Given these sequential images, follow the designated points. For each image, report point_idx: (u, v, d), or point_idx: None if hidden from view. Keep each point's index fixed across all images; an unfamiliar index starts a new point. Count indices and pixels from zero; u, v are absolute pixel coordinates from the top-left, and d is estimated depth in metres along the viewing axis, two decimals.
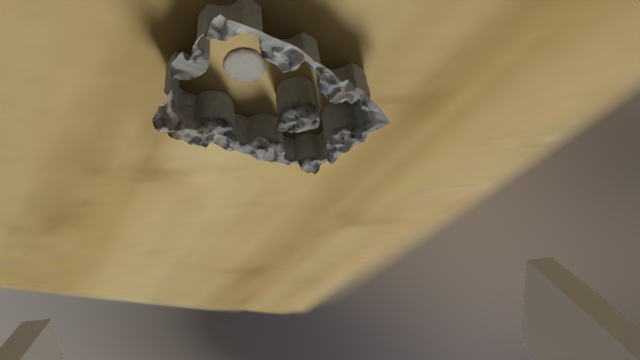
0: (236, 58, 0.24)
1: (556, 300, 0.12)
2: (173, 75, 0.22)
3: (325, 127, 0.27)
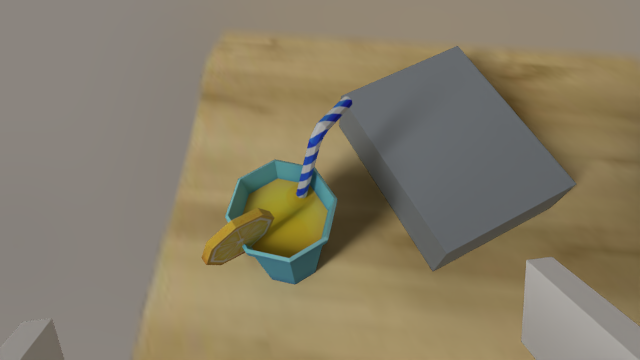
0: None
1: (556, 300, 0.12)
2: None
3: None
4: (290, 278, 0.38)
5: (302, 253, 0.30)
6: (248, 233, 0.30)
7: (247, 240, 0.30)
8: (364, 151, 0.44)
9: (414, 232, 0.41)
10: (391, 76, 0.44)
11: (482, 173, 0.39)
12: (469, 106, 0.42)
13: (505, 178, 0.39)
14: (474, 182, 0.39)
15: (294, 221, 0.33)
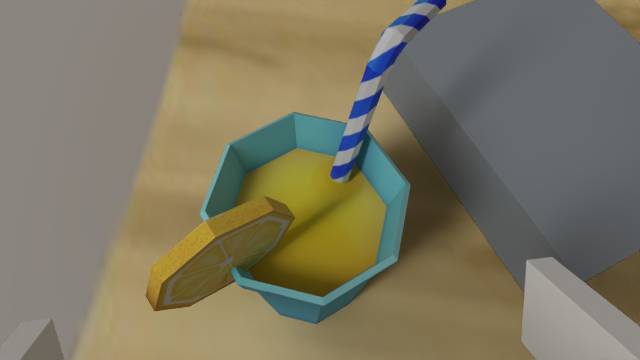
0: None
1: (556, 300, 0.12)
2: None
3: None
4: (311, 318, 0.23)
5: (348, 288, 0.15)
6: (243, 247, 0.15)
7: (240, 260, 0.15)
8: (422, 119, 0.29)
9: (506, 244, 0.26)
10: (465, 7, 0.29)
11: (622, 152, 0.24)
12: (588, 51, 0.28)
13: None
14: (610, 165, 0.24)
15: (327, 224, 0.18)
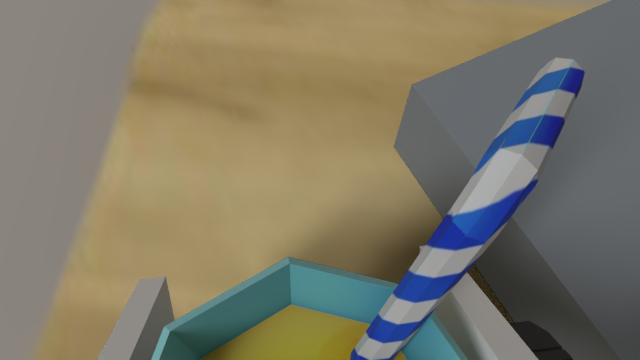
0: None
1: None
2: None
3: None
4: None
5: None
6: None
7: None
8: None
9: None
10: (513, 46, 0.21)
11: None
12: None
13: None
14: None
15: None
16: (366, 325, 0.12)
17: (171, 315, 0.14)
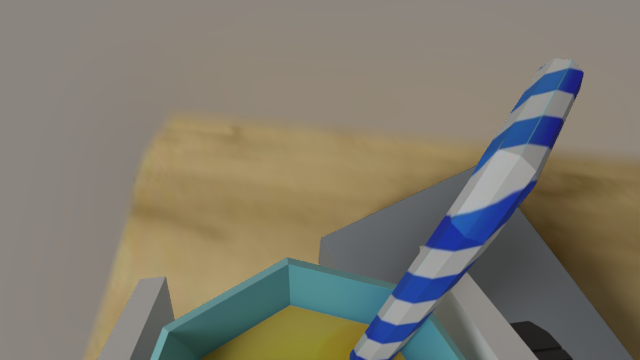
0: None
1: None
2: None
3: None
4: None
5: None
6: None
7: None
8: None
9: None
10: (392, 207, 0.31)
11: None
12: (503, 259, 0.30)
13: None
14: None
15: None
16: (365, 326, 0.12)
17: (171, 315, 0.14)
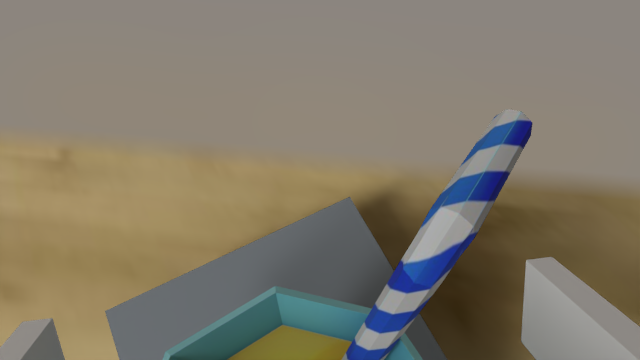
0: None
1: (555, 300, 0.12)
2: None
3: None
4: None
5: None
6: None
7: None
8: None
9: None
10: (213, 264, 0.23)
11: None
12: None
13: None
14: None
15: None
16: (351, 343, 0.13)
17: None
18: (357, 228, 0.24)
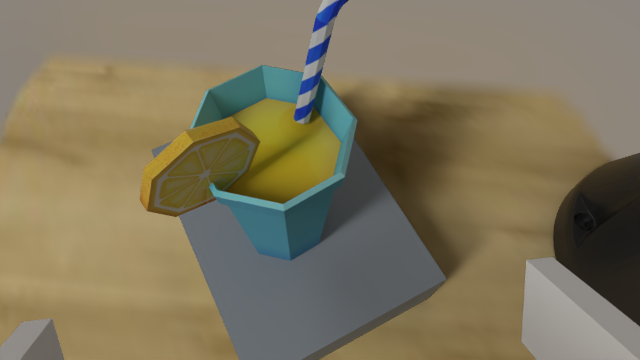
0: None
1: (556, 300, 0.12)
2: None
3: None
4: (284, 249, 0.26)
5: (304, 197, 0.19)
6: (217, 162, 0.18)
7: (216, 176, 0.19)
8: None
9: None
10: None
11: (321, 262, 0.29)
12: None
13: (351, 270, 0.29)
14: (307, 275, 0.28)
15: (291, 157, 0.22)
16: None
17: None
18: None
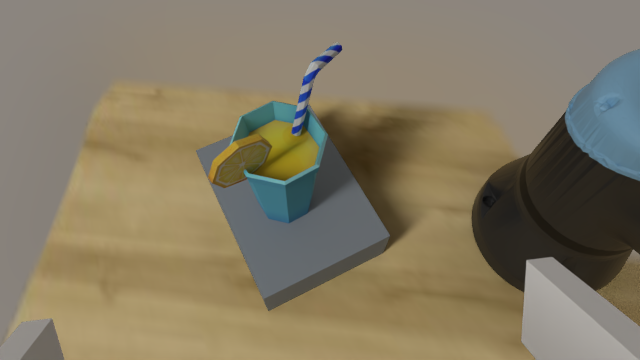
0: None
1: (556, 300, 0.12)
2: None
3: None
4: (285, 214, 0.42)
5: (296, 177, 0.35)
6: (249, 157, 0.34)
7: (248, 165, 0.35)
8: None
9: None
10: None
11: (309, 224, 0.44)
12: None
13: (328, 229, 0.44)
14: (300, 232, 0.44)
15: (289, 155, 0.38)
16: None
17: None
18: None
